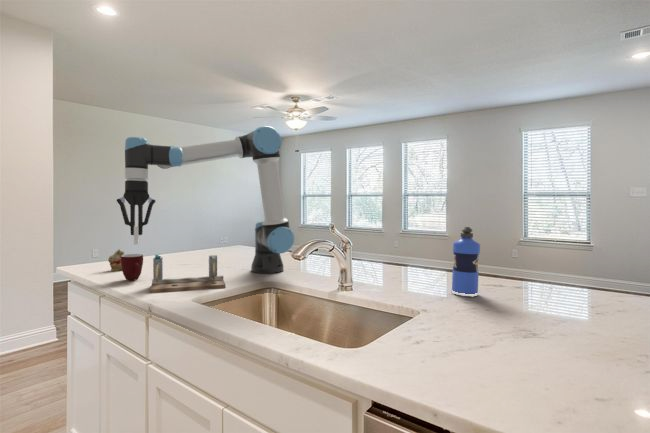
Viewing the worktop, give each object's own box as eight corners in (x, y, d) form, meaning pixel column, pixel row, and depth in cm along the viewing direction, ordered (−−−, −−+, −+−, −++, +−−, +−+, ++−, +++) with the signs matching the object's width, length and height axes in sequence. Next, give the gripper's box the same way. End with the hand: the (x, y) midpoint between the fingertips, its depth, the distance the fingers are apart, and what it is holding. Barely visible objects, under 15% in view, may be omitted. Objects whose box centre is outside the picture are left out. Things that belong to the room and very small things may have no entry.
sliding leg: (162, 277, 140) (162, 254, 139) (161, 282, 133) (161, 257, 132) (154, 278, 139) (153, 254, 138) (152, 282, 132) (152, 257, 131)
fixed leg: (216, 274, 147) (216, 255, 147) (218, 278, 140) (218, 258, 139) (208, 275, 146) (208, 255, 146) (209, 279, 139) (210, 258, 138)
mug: (150, 280, 148) (150, 256, 147) (129, 283, 141) (129, 258, 141) (137, 276, 154) (137, 253, 154) (117, 279, 148) (117, 255, 147)
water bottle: (478, 292, 137) (481, 226, 136) (477, 298, 129) (480, 228, 128) (452, 289, 141) (454, 225, 140) (450, 295, 133) (452, 227, 131)
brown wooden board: (222, 280, 149) (222, 274, 149) (225, 287, 138) (225, 280, 138) (153, 285, 140) (153, 278, 140) (150, 292, 129) (150, 285, 129)
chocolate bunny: (113, 269, 169) (113, 247, 169) (130, 268, 170) (130, 247, 170) (107, 271, 164) (107, 249, 163) (125, 271, 165) (125, 249, 164)
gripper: (156, 181, 139) (156, 242, 141) (118, 179, 135) (118, 243, 136) (155, 180, 132) (155, 244, 133) (114, 179, 128) (114, 245, 129)
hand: (136, 243), depth 135 cm, fingers closed
